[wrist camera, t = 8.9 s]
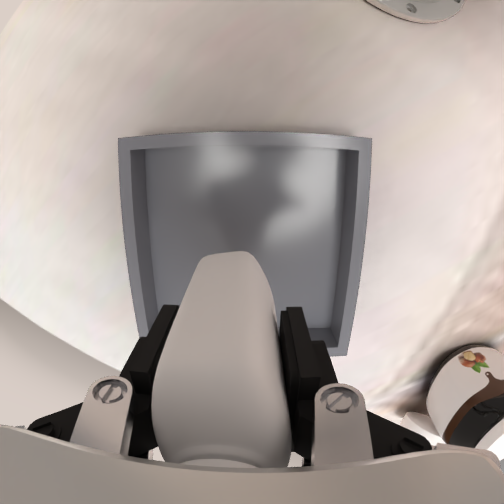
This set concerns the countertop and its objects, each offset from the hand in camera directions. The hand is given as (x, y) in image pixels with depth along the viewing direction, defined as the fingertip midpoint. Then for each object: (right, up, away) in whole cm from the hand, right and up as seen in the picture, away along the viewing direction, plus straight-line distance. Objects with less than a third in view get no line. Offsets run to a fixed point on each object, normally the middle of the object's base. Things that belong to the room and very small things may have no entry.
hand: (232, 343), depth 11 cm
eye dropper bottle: (0, +1, +3) cm, 3 cm away
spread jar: (+22, -11, +17) cm, 30 cm away
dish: (0, +4, +11) cm, 12 cm away
